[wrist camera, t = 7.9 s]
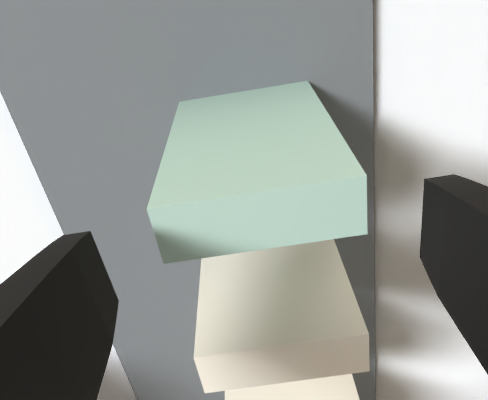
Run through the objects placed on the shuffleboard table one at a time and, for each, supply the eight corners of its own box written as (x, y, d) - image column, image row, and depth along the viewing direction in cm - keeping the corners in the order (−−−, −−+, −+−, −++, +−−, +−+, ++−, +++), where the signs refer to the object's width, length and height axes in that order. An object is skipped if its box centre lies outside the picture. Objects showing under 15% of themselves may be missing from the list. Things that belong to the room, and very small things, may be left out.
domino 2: (319, 224, 20) (369, 371, 13) (211, 240, 20) (204, 393, 13) (316, 194, 19) (369, 334, 12) (205, 211, 19) (193, 357, 12)
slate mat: (166, 456, 29) (165, 462, 29) (-41, -17, 15) (-48, -16, 15) (374, 430, 29) (375, 435, 28) (368, -92, 14) (372, -93, 14)
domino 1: (311, 120, 17) (367, 234, 10) (188, 139, 18) (163, 263, 11) (307, 80, 17) (367, 175, 10) (179, 101, 17) (146, 209, 10)
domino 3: (326, 304, 22) (371, 463, 15) (230, 317, 23) (232, 480, 16) (324, 280, 22) (370, 437, 15) (224, 295, 22) (224, 455, 15)
